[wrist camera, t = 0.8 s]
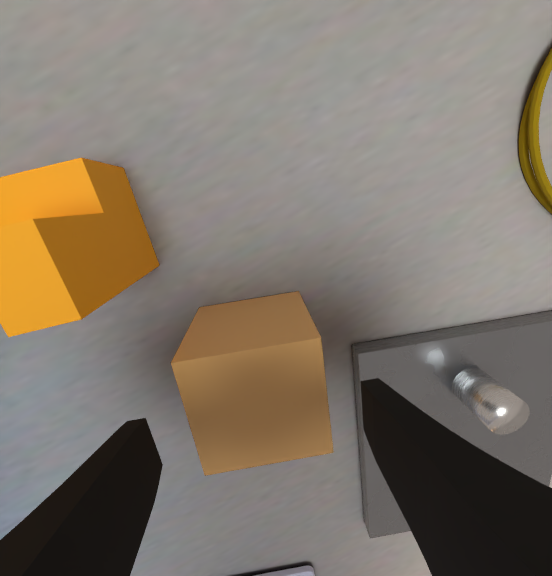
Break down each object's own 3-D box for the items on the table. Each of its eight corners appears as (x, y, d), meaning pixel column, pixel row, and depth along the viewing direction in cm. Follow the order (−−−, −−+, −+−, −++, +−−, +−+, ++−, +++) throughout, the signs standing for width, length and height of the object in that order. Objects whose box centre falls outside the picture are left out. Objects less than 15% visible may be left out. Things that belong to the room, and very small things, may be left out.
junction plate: (530, 490, 20) (596, 560, 16) (364, 521, 20) (391, 600, 16) (564, 308, 16) (665, 343, 12) (351, 344, 15) (384, 392, 11)
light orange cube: (309, 375, 16) (333, 452, 11) (220, 390, 15) (204, 475, 11) (298, 291, 14) (320, 337, 9) (199, 307, 14) (170, 362, 9)
